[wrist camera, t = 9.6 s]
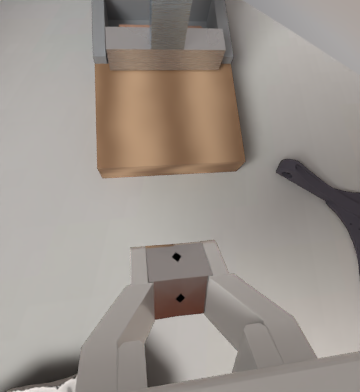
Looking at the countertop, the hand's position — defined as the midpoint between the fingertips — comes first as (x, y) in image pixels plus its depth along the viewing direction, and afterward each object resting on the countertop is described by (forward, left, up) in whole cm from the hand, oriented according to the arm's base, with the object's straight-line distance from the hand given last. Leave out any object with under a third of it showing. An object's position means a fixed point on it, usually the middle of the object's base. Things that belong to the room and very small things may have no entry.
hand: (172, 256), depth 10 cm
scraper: (+2, +20, -14) cm, 24 cm away
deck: (+2, +14, -17) cm, 22 cm away
